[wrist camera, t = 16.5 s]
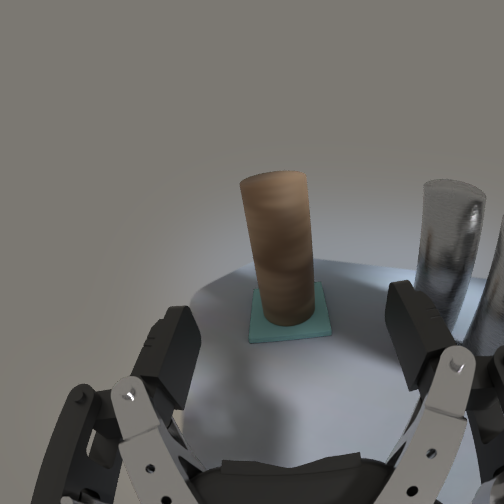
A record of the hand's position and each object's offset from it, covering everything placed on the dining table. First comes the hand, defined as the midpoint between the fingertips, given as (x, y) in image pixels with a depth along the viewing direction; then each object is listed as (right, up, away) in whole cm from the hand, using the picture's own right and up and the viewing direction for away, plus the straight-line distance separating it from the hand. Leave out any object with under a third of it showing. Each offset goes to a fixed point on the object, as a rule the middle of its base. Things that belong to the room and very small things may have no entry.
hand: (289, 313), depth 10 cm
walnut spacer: (+2, -3, +14) cm, 15 cm away
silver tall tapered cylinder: (+14, -4, +9) cm, 18 cm away
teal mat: (+2, -3, +15) cm, 15 cm away
